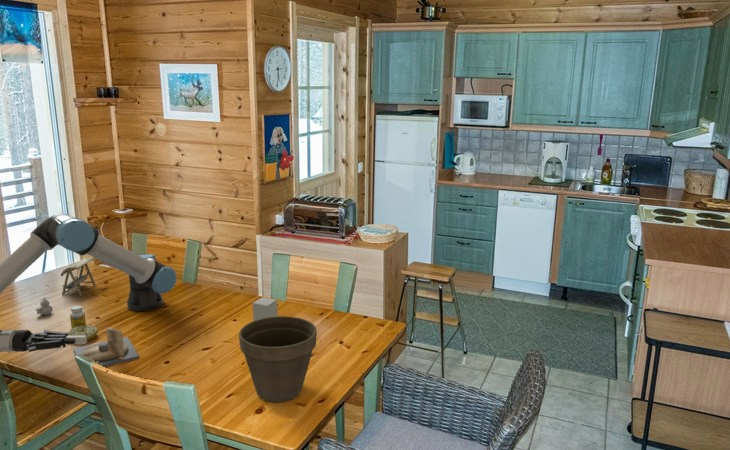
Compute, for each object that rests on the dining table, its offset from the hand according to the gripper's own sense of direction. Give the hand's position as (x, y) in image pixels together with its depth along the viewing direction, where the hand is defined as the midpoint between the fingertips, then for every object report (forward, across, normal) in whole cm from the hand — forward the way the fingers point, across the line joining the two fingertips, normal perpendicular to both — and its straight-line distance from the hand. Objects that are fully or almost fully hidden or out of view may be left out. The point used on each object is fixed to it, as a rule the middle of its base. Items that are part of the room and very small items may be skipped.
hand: (85, 339), depth 200 cm
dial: (+5, -6, -8) cm, 11 cm away
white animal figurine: (-35, -45, -9) cm, 58 cm away
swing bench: (-33, -74, -9) cm, 82 cm away
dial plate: (+4, -6, -9) cm, 12 cm away
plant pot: (+70, +22, -9) cm, 73 cm away
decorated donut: (-10, -21, -10) cm, 26 cm away
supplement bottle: (-15, -29, -9) cm, 34 cm away
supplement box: (+61, -26, -9) cm, 67 cm away
